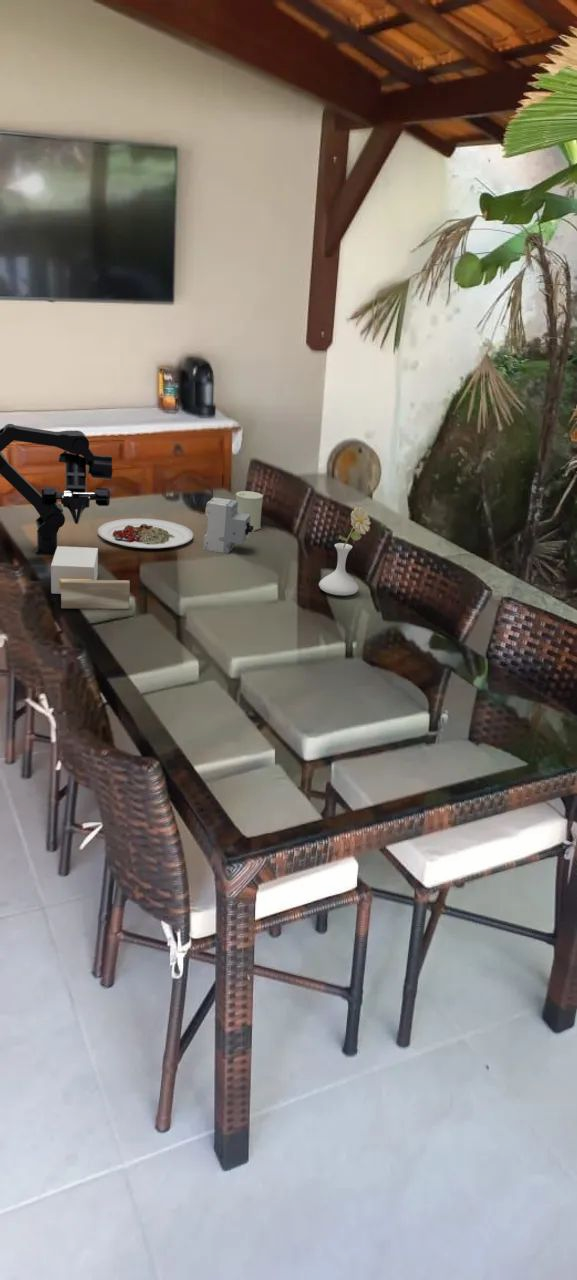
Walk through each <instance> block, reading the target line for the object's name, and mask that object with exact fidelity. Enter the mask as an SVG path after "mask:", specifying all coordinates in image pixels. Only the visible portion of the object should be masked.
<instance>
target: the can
mask: <svg viewBox="0 0 577 1280" xmlns="http://www.w3.org/2000/svg"><path fill="white" fill-rule="evenodd" d="M263 499H264V496H263V494H262V493H259V492H257V491H256V492H255V491H247V490H243V491H237V492H236V493H235V501H238V507H237V513H244V514H250V515H251V518H250V526H254V527H253V529H257V528H260V529H261V519H262V508H263V507H262V506H263Z"/></svg>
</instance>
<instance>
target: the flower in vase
mask: <svg viewBox="0 0 577 1280" xmlns="http://www.w3.org/2000/svg"><path fill="white" fill-rule="evenodd" d="M368 513H369V512H368ZM368 513H367V512H366V510H365V509H364V508H363V507H362V506H360V507H359V506H356V507H354V508H353V510H352V511H351V513H350V521H351V523H350V524H351V526H352V528H351V529H350V530H351V531H350V532H349V534H348V536H347V538H346V537H343V535H340V534H339V536H338V539H339V540H341V541H345V542H343V543H342V542H338V543H335V544H334V548H335V549H336V552H337V562H336V563H337V565H336V568H335V570H334V571H333V572H331V573H330V574H328V575H325V576H324V577H323V578H322V579H320V581H319V582H318V586H319V588H320V590H322V591H323V592H325V593H327V594H330V595H334V596H351V595H355V594H356V593H357V592H358V591H359V586H358V583H357V582H356V581H355V580H354V579H353V578H352V577H351V576H350V575H349V574H348V573H347V571H346V561H347V557H348V554H349V553H350V551H351V550H352V548H353V545H351V544H349V543H348V541H349V539H350V538H351V539H352V540H353V541H355V542H356V541H359V540H360V539H361V538H362V535H366V532H369V531H370V529H371V528H370V525H371V521H370V519H371V518H369V514H368ZM353 530H354V531H353Z"/></svg>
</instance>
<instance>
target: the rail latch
mask: <svg viewBox="0 0 577 1280" xmlns="http://www.w3.org/2000/svg"><path fill="white" fill-rule="evenodd" d="M61 580H91V579H59V590H61Z"/></svg>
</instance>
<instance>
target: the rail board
mask: <svg viewBox="0 0 577 1280" xmlns="http://www.w3.org/2000/svg"><path fill="white" fill-rule="evenodd" d="M130 585H131V584H130V580H129V579H128V580H127V579H126V580H123V579H122V580H119V579H117V580H116V579H115V580H113V579H108V580H107V579H97V580H61V594H60V596H61V597H60V598H61V599H60V604H61V605H60V608H61V609H99V608H100V609H102V610H103V609H111V610H113V609H114V610H115V609H116V610H120V609H123V610H124V609H125V610H126V609H130V592H131V591H130V590H131V589H130V588H131V587H130ZM100 609H99V610H100Z"/></svg>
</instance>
